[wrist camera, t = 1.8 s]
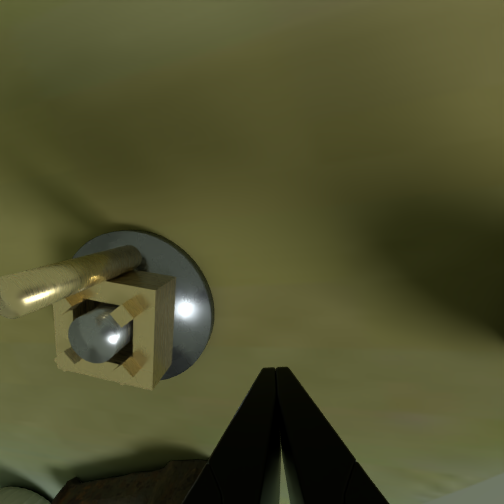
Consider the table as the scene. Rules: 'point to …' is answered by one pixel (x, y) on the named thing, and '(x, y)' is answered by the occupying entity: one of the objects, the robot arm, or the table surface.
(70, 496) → the dark brown log
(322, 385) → the table surface
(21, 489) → the canister
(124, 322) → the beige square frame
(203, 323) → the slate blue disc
